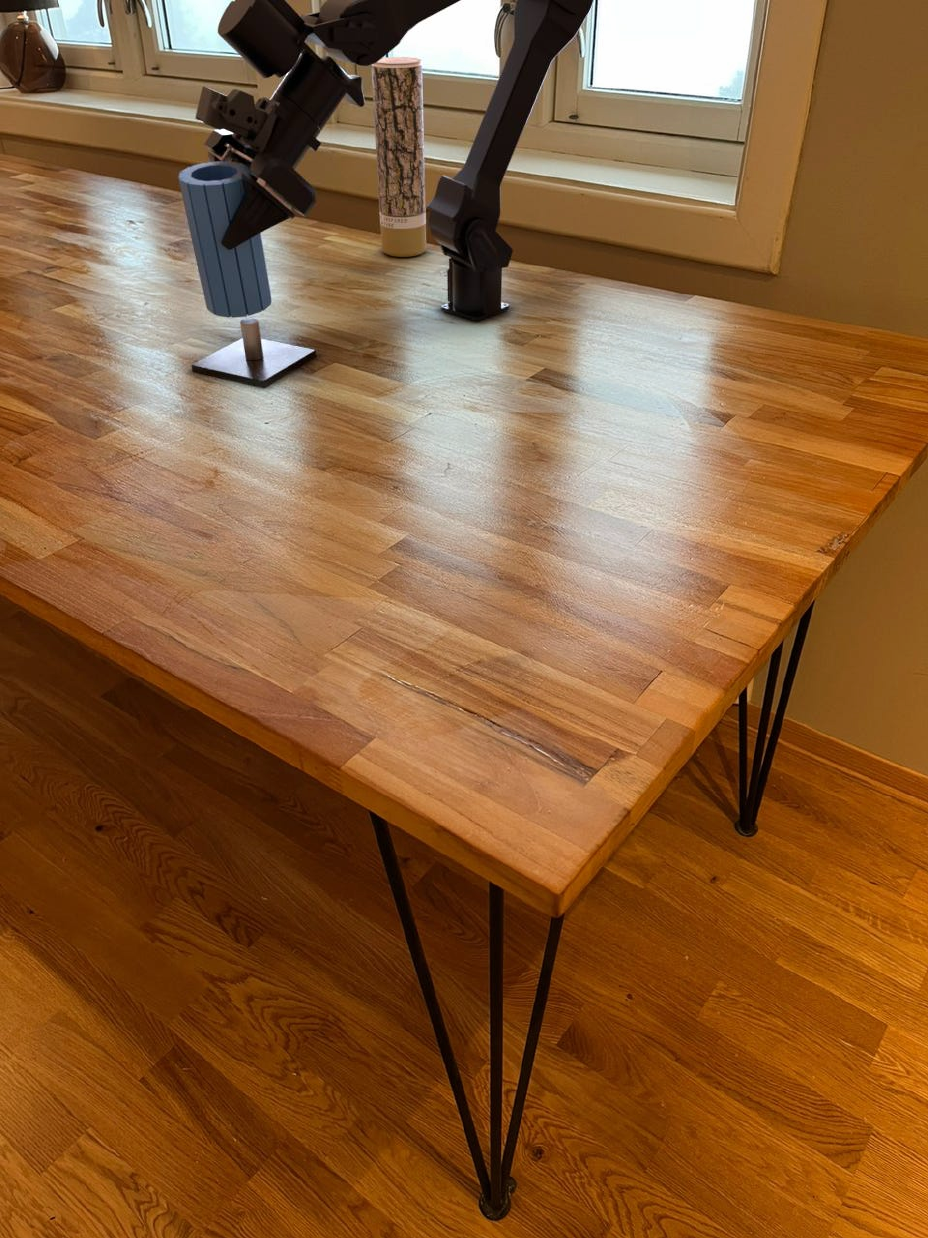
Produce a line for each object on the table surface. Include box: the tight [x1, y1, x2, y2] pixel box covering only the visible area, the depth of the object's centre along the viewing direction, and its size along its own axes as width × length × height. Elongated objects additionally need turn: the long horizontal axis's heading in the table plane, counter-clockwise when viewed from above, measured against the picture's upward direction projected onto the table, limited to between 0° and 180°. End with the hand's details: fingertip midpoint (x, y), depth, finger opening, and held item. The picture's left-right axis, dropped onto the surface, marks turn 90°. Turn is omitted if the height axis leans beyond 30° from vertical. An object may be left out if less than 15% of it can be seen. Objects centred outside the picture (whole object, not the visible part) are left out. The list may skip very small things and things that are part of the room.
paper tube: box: [371, 56, 427, 258], centre depth 133 cm, size 7×7×25 cm
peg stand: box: [190, 317, 317, 389], centre depth 105 cm, size 10×10×5 cm
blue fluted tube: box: [178, 161, 272, 319], centre depth 100 cm, size 7×7×14 cm
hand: (213, 237), depth 99 cm, fingers closed on blue fluted tube, 7 cm apart
